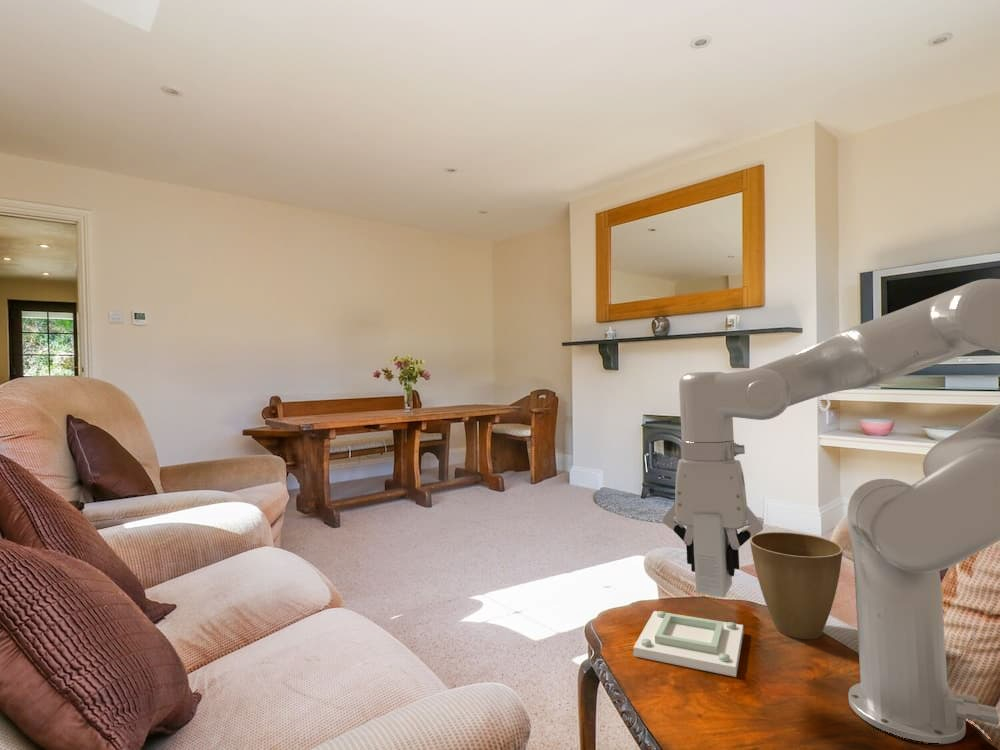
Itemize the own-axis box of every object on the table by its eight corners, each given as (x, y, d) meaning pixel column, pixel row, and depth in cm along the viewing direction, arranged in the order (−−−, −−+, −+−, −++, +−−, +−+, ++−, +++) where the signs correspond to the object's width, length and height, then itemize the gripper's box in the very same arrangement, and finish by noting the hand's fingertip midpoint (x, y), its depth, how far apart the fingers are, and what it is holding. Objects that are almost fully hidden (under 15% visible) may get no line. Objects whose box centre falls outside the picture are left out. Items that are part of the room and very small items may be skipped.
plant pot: (752, 641, 94) (747, 550, 94) (755, 608, 107) (751, 528, 107) (852, 657, 87) (847, 559, 87) (843, 620, 100) (838, 535, 100)
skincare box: (704, 580, 85) (700, 505, 85) (732, 585, 83) (729, 507, 83) (694, 593, 80) (691, 513, 80) (724, 598, 77) (721, 516, 78)
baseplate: (743, 633, 97) (742, 618, 97) (736, 676, 83) (735, 659, 83) (654, 618, 104) (653, 604, 104) (633, 656, 90) (633, 640, 90)
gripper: (768, 450, 81) (774, 569, 81) (655, 448, 89) (660, 557, 88) (769, 456, 75) (775, 587, 74) (647, 453, 82) (652, 572, 82)
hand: (713, 569), depth 81 cm, fingers closed on skincare box, 4 cm apart
